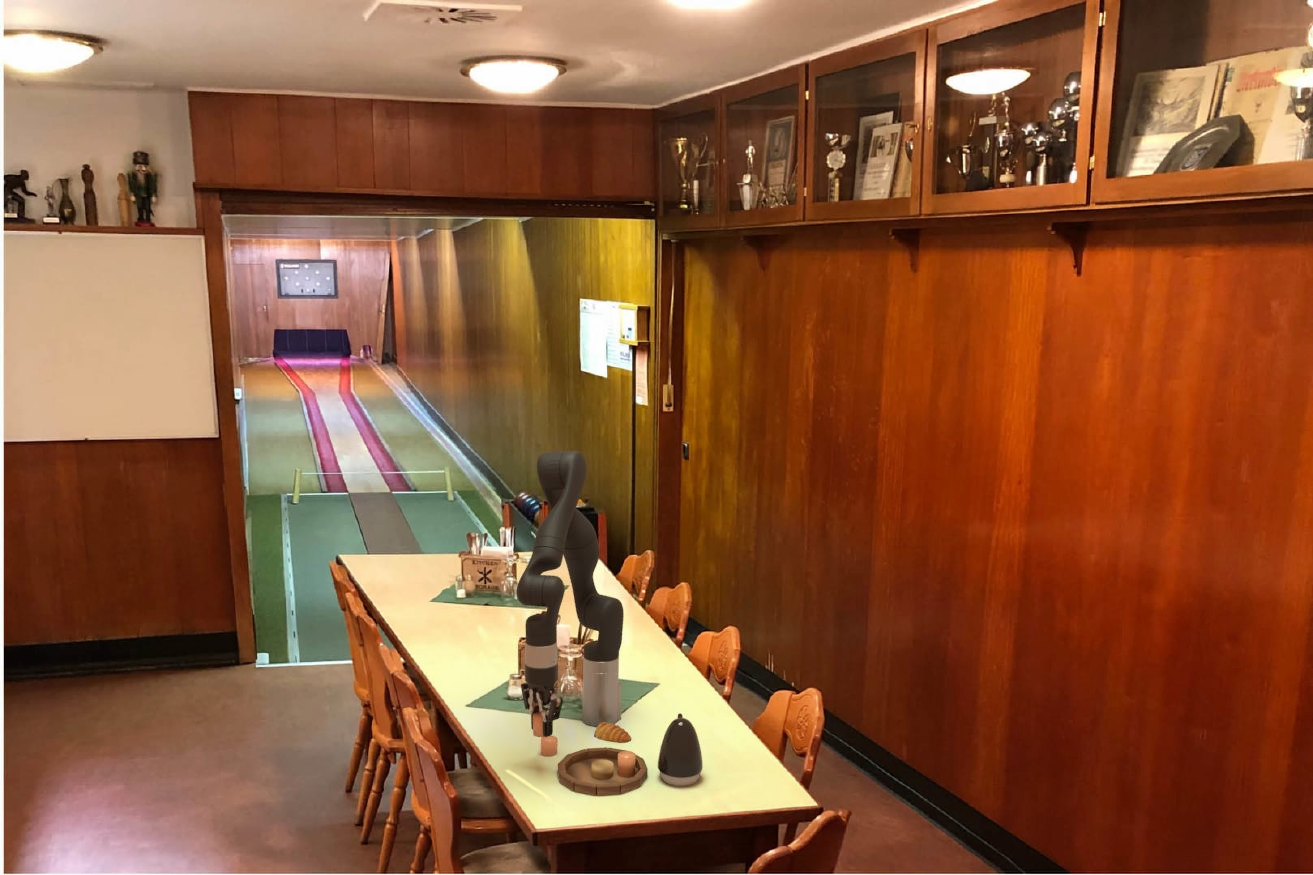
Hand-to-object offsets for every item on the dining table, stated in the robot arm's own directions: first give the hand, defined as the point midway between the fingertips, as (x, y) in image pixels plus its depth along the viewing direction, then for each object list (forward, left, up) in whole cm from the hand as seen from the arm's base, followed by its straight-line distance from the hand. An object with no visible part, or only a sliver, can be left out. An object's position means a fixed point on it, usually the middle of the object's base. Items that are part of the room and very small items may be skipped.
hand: (541, 731), depth 237 cm
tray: (-9, +11, -10) cm, 18 cm away
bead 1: (0, 0, 0) cm, 0 cm away
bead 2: (-6, -6, -10) cm, 14 cm away
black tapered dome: (-22, +23, -10) cm, 33 cm away
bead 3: (-14, +13, -9) cm, 22 cm away
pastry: (-25, -5, -11) cm, 27 cm away
